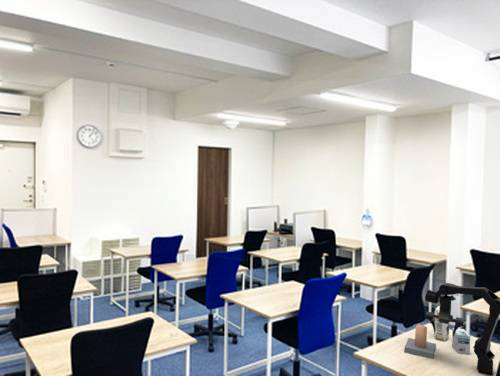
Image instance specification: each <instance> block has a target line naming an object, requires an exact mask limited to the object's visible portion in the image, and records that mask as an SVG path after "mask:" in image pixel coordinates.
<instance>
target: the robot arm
mask: <svg viewBox="0 0 500 376" xmlns="http://www.w3.org/2000/svg"><path fill="white" fill-rule="evenodd" d="M454 295H465V296H466V295H467V296H479V297H481V298H482V299H483V301H484V302H485V303H486V304H487V305H488V306H489V307H488V310H489V311H488V312H489V315H488V318H487V321H486V323H485V326H484V329H483V331H482V332H483V333H482V334H481V337H479V338H477V339H476V340H475V342H474V345H473V347H472V348H473V353H474V354H475V355H476V357H477V361H476V362H477V364H476V365H477V366H476V369H477V371H478V372H477V373H480V374H484V375H489V376H492V375H493V376H494V358H495V354H494V353H493V352H492V351H491V347H492V346H491V345H492V344H491V342H492V341H491V340H492V337H493V335H494V332H495V330H496V326H497V323H498V321H499V318H500V297H499V295H498V294H496V293H494V292H493V291H491V290H490V289H488V288H487V287H485V286H483V287H481V286H480V287H476V286H464V285H463V286H461V285H456V284H454V283H450V282H445V283H443V284H441V285H440V286H439V287H438V290H437V291H434V290H431V289H427V290H426V294H425V296H424V301H425V302H427V303H431V304H434V305H437V304H438V303H439V306H440V308H439V316H438V315H435V312H434V311H433V312H432V311H427V312H426V314H425V319H426V320H428V321H429V322H430V324H431V325H432V328H433V333H434V332H435V330H436V328H435V319H439V322H440V323H445V324H449V325H450V323H454V327H453V328H454V331H453V330H452V332H453V336H454V334H455V332H456V330H457V329H459V328H462V327H464V324H465V319H464V318H462V317H457V316H456V317H455V318H454V315H452V302H453V301H456V300H457V298H456V297H455V296H454Z"/></svg>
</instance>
